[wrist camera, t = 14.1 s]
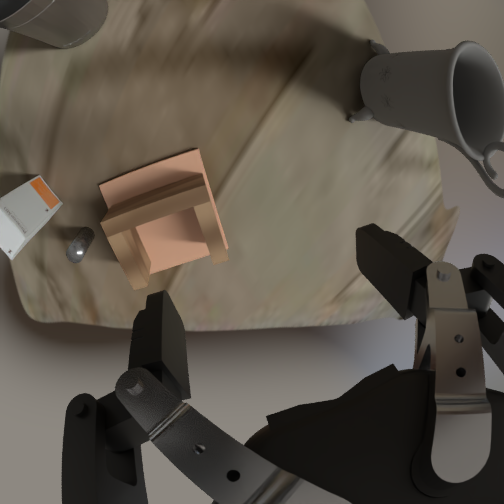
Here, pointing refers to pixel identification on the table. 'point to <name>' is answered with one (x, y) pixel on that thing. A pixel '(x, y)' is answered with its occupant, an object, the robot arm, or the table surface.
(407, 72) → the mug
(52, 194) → the skincare box
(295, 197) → the table surface
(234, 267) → the table surface
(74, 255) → the post
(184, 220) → the tile
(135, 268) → the c link
